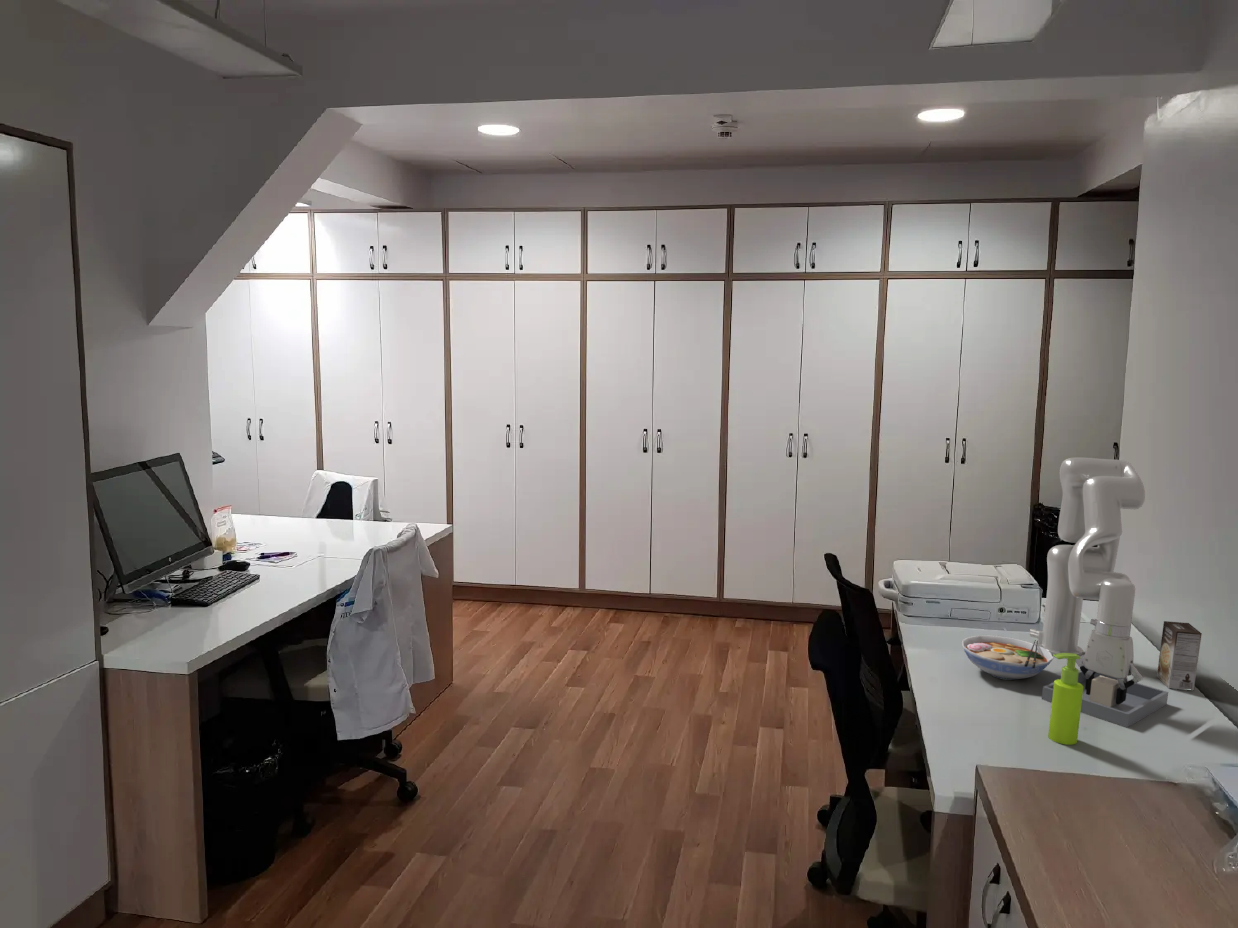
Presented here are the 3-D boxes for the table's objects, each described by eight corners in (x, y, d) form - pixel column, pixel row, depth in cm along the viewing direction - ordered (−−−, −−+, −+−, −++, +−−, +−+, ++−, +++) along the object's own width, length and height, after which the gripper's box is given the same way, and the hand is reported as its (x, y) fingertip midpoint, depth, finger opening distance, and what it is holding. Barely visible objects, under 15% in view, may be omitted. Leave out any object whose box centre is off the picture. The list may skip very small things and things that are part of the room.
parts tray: (1041, 701, 224) (1042, 686, 223) (1084, 681, 239) (1085, 667, 239) (1126, 730, 209) (1128, 714, 208) (1166, 707, 224) (1168, 691, 223)
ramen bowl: (966, 653, 258) (969, 626, 257) (1054, 670, 247) (1057, 642, 246) (951, 680, 237) (954, 650, 235) (1046, 700, 225) (1049, 668, 224)
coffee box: (1155, 676, 245) (1162, 620, 243) (1181, 679, 244) (1188, 622, 242) (1168, 689, 236) (1176, 630, 234) (1195, 691, 235) (1203, 632, 233)
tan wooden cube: (1089, 700, 224) (1091, 679, 223) (1098, 695, 227) (1100, 675, 226) (1110, 707, 220) (1112, 685, 220) (1119, 702, 223) (1121, 681, 223)
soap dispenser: (1038, 733, 205) (1047, 649, 203) (1067, 733, 206) (1076, 649, 203) (1053, 744, 199) (1062, 658, 197) (1082, 744, 200) (1092, 659, 197)
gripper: (1070, 622, 225) (1062, 690, 228) (1144, 641, 212) (1135, 713, 215) (1083, 617, 230) (1076, 683, 233) (1157, 636, 217) (1148, 706, 219)
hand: (1104, 697), depth 224 cm, fingers open, 6 cm apart
